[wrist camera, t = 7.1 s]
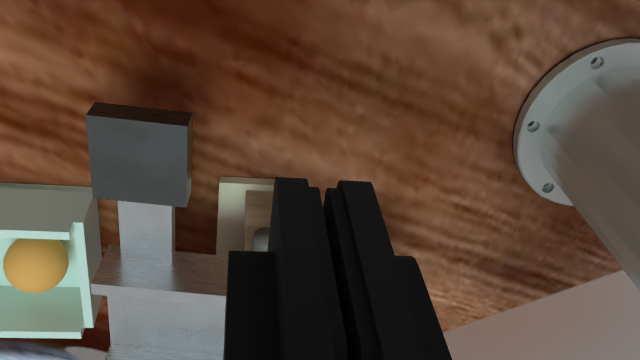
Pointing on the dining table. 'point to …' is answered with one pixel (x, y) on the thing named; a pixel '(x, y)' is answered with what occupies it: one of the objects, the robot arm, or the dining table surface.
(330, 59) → the dining table surface
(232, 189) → the stand
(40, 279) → the ball
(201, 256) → the track
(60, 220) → the mint green storage bin
